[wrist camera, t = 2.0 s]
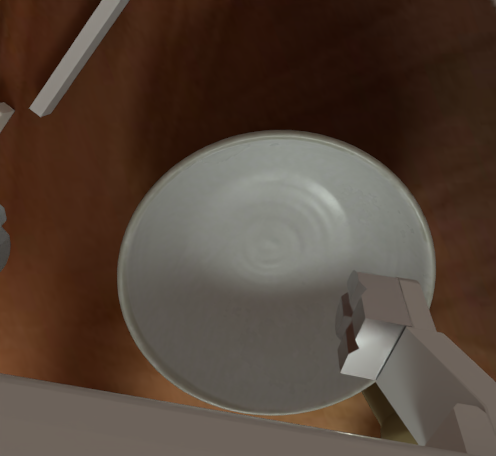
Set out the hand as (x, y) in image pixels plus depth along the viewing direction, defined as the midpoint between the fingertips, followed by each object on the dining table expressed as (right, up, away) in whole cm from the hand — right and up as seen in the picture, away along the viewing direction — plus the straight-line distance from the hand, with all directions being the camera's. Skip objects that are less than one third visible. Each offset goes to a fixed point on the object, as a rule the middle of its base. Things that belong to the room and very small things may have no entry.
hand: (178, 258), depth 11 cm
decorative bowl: (+4, 0, +39) cm, 40 cm away
